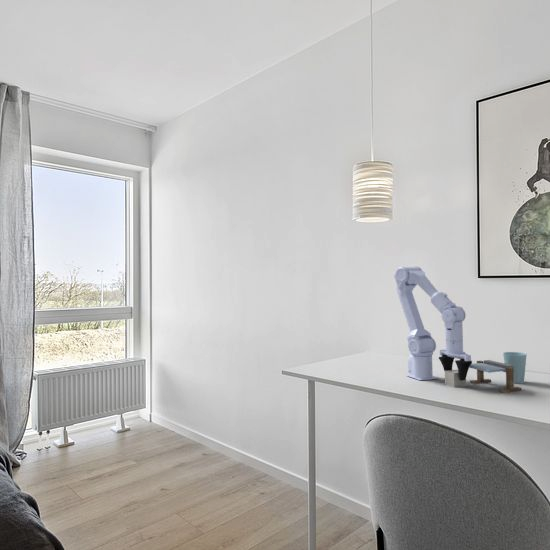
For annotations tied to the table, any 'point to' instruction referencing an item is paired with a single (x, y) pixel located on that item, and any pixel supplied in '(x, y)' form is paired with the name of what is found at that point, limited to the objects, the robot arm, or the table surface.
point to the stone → (453, 379)
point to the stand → (509, 380)
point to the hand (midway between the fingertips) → (455, 377)
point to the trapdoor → (491, 366)
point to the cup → (516, 364)
